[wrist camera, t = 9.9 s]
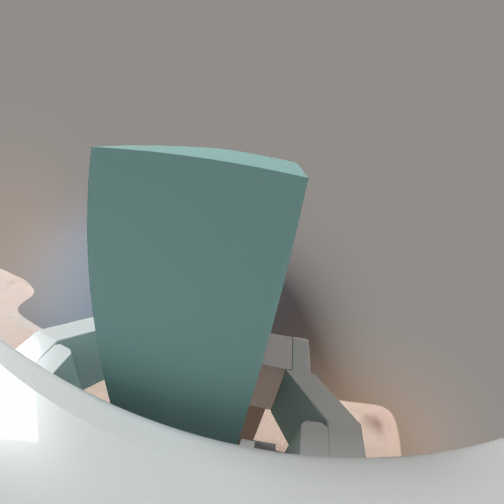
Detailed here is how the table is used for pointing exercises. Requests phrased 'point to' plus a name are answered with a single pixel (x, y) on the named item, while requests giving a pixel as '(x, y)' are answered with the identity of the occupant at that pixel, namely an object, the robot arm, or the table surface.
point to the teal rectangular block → (188, 277)
